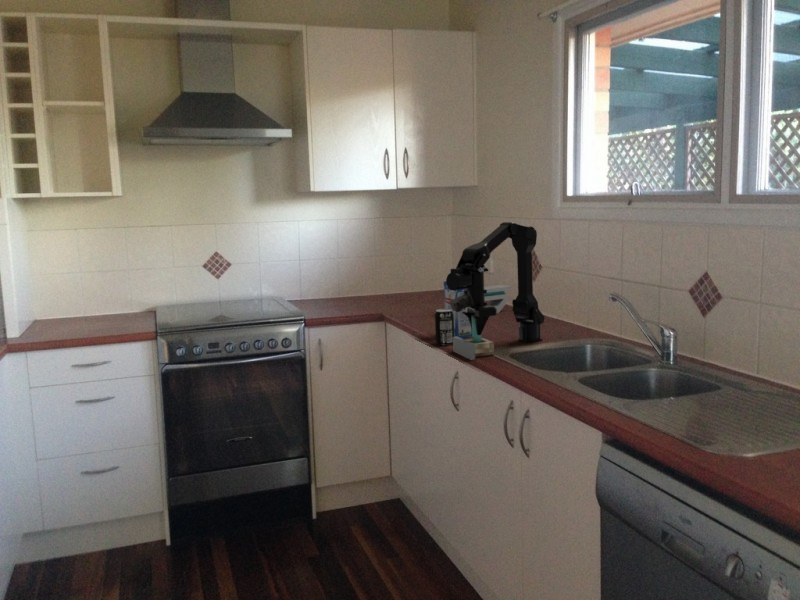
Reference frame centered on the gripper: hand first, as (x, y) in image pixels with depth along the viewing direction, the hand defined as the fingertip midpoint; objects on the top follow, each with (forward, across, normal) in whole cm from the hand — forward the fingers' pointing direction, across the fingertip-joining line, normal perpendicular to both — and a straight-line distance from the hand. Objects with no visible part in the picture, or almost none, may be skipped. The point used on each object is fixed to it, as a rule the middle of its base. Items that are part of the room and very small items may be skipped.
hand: (476, 334), depth 235 cm
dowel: (+4, 0, 0) cm, 4 cm away
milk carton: (+7, -31, +7) cm, 32 cm away
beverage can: (+7, -20, -3) cm, 21 cm away
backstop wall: (+6, 0, -5) cm, 8 cm away
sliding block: (+6, 0, 0) cm, 6 cm away
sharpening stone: (+7, -70, +35) cm, 79 cm away
